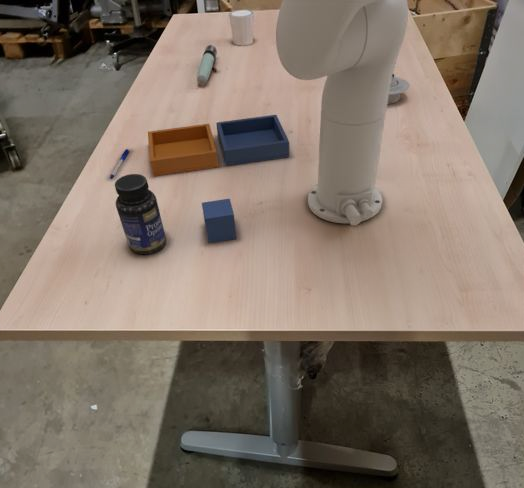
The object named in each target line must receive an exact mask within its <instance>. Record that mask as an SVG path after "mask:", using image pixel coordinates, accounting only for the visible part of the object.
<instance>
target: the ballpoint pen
mask: <svg viewBox="0 0 524 488" xmlns="http://www.w3.org/2000/svg"><path fill="white" fill-rule="evenodd" d="M129 153H130V150H129V149H128V148H126V149H125V150H124V151H123V152H122V155H121V157H120V159H119V160H118V162H117V164H116V166H114V167H115V168H114V169H113V171H112V172H111V174H110V177H109V178H110V179H111V180H112V179H113V178H114V177H115V176H116V175H117V173H118V171H119V169H120V168H121V166H122V164H123V163H124V161H125V160H126V158H127V157H128V156H129Z"/></svg>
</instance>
